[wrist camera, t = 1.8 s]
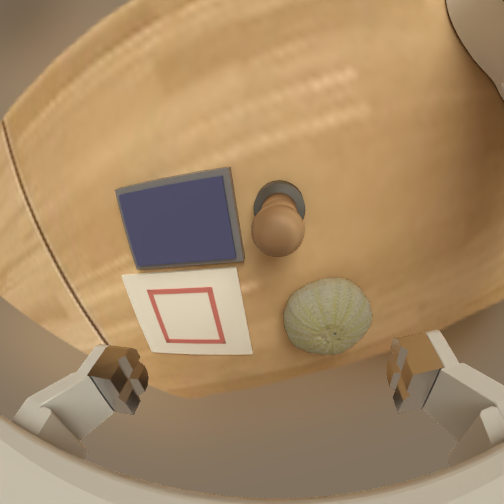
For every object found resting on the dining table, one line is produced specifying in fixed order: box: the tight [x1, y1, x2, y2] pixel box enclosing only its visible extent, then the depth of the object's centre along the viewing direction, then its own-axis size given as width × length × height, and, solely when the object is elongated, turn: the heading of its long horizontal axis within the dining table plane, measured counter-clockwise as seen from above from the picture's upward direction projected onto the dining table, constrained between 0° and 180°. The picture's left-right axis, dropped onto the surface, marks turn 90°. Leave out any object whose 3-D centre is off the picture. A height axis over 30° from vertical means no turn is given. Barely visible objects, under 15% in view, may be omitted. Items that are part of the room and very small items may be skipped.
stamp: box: [251, 180, 305, 257], centre depth 22 cm, size 4×4×9 cm
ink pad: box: [115, 167, 245, 269], centre depth 27 cm, size 12×9×2 cm
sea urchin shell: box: [284, 277, 373, 355], centre depth 28 cm, size 9×8×8 cm
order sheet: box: [122, 267, 253, 355], centre depth 32 cm, size 14×12×1 cm
